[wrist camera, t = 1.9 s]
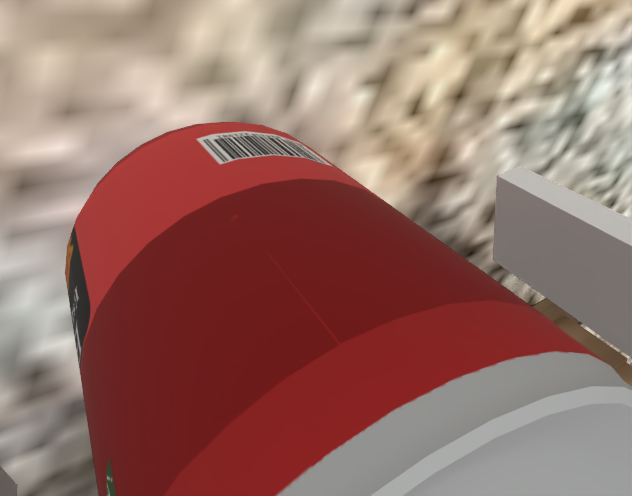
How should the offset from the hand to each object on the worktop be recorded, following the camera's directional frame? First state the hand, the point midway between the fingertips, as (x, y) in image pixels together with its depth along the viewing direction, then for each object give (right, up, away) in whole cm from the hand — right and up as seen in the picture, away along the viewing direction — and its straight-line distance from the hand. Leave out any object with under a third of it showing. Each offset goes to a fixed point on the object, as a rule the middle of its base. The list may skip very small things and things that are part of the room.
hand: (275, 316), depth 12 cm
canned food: (-2, +2, +3) cm, 4 cm away
